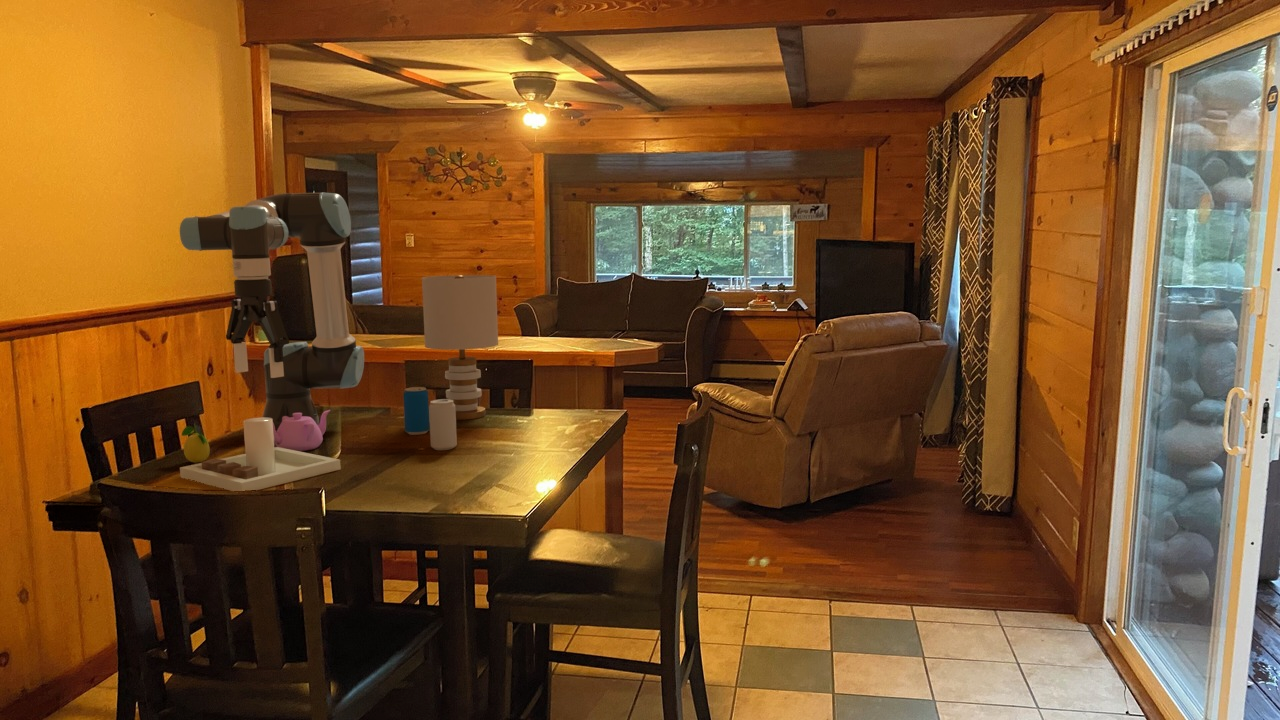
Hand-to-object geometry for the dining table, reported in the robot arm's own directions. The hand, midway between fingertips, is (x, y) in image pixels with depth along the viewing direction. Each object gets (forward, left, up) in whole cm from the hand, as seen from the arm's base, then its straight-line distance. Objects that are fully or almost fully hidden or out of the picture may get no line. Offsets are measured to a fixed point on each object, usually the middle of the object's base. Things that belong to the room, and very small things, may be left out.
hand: (259, 374), depth 213 cm
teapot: (-18, +21, -23) cm, 36 cm away
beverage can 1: (-6, +49, -23) cm, 55 cm away
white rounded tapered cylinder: (+1, -2, -22) cm, 22 cm away
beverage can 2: (+14, +40, -23) cm, 49 cm away
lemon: (-22, -4, -23) cm, 32 cm away
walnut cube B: (+1, -9, -22) cm, 24 cm away
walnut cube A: (-5, -9, -22) cm, 24 cm away
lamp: (-13, +73, -23) cm, 78 cm away
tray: (+1, -2, -23) cm, 23 cm away
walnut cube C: (+7, -9, -22) cm, 25 cm away
